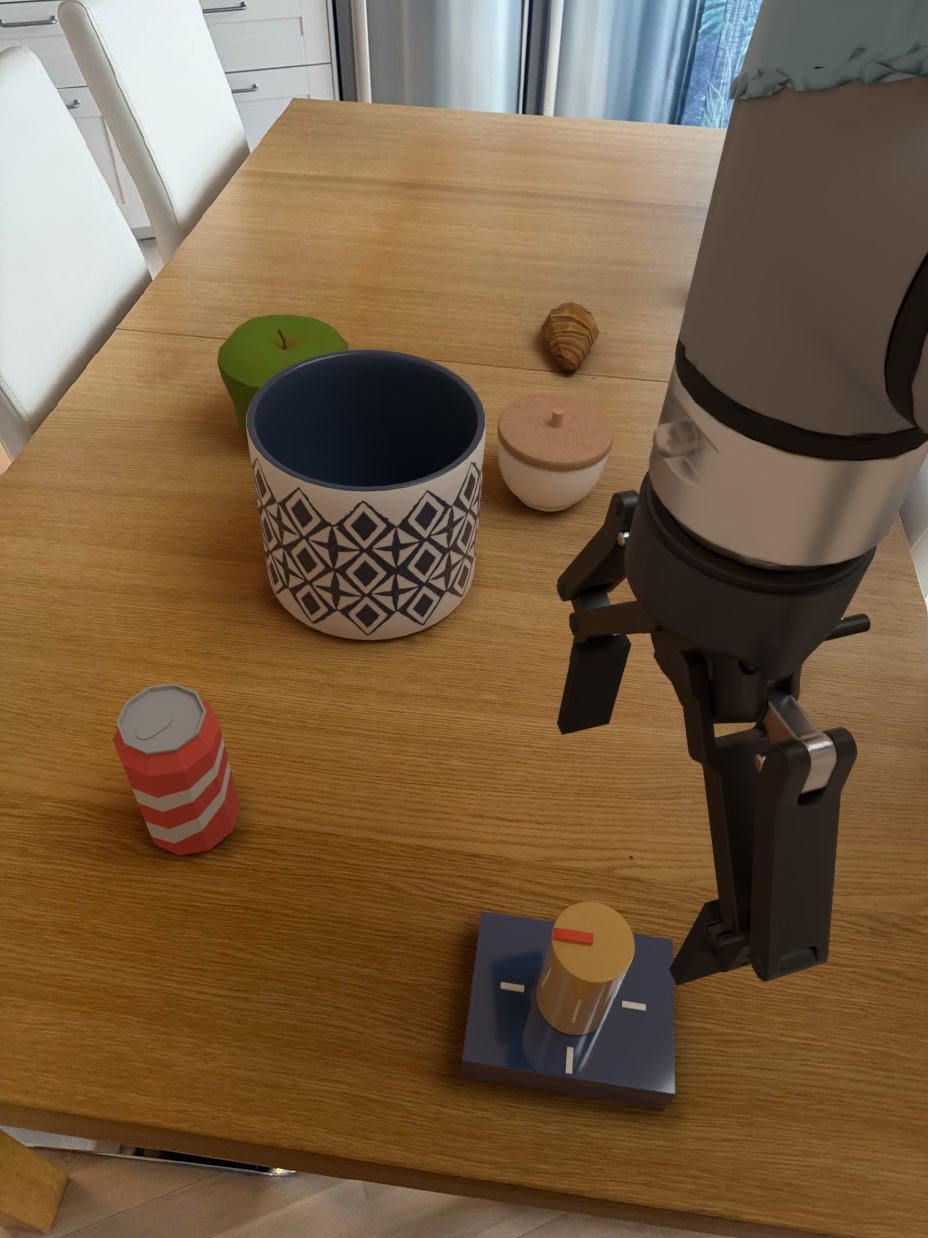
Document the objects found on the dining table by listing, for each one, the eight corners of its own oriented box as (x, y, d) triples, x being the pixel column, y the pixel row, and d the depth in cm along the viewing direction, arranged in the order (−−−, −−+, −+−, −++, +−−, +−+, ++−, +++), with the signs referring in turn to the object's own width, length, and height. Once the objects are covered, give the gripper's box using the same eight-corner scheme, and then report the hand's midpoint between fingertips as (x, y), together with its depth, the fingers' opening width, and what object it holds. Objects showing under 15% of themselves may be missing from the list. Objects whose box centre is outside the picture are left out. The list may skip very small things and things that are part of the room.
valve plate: (662, 958, 60) (673, 938, 57) (664, 1110, 54) (676, 1094, 51) (478, 930, 60) (481, 909, 58) (459, 1077, 54) (462, 1060, 52)
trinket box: (597, 535, 87) (613, 455, 80) (484, 518, 88) (491, 437, 81) (604, 465, 94) (621, 386, 87) (500, 450, 95) (508, 370, 88)
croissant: (540, 314, 113) (545, 275, 110) (595, 319, 113) (602, 280, 109) (537, 375, 104) (542, 335, 100) (597, 381, 104) (604, 341, 100)
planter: (298, 669, 74) (278, 514, 62) (247, 524, 85) (222, 369, 73) (506, 614, 79) (525, 461, 67) (432, 484, 90) (437, 333, 78)
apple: (260, 480, 90) (246, 379, 81) (211, 414, 96) (193, 315, 88) (374, 442, 95) (371, 343, 86) (319, 381, 101) (312, 285, 93)
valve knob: (610, 966, 56) (636, 905, 50) (608, 1041, 53) (635, 986, 47) (538, 955, 56) (555, 893, 50) (532, 1029, 53) (549, 973, 47)
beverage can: (129, 821, 64) (86, 719, 56) (204, 765, 68) (174, 660, 59) (183, 877, 62) (146, 779, 53) (258, 816, 65) (235, 714, 56)
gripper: (517, 309, 36) (482, 658, 52) (896, 882, 20) (681, 1135, 36) (690, 289, 38) (605, 632, 54) (1161, 802, 22) (846, 1076, 38)
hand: (635, 835), depth 45 cm, fingers open, 13 cm apart
